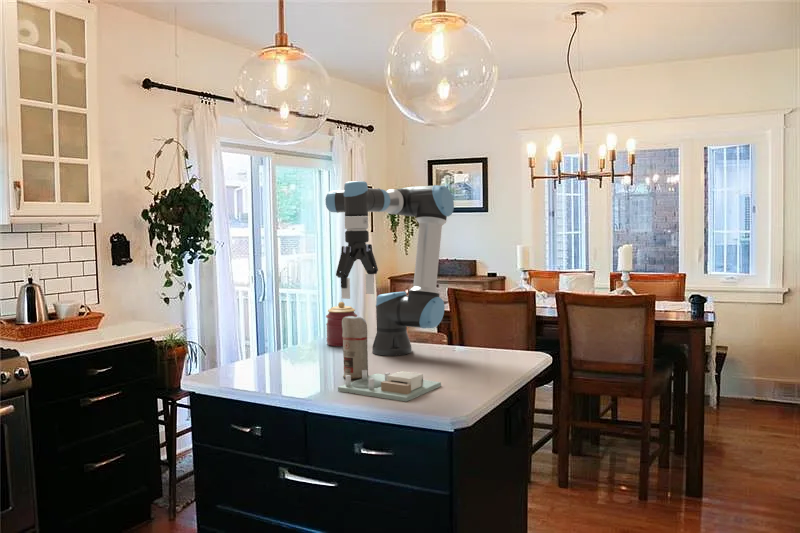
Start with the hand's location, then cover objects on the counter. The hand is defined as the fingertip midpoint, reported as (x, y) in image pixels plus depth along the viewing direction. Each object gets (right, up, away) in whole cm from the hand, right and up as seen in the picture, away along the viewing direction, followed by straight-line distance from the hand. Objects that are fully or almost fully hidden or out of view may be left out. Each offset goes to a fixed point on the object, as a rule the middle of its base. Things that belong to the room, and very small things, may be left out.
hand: (358, 296), depth 211 cm
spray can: (-1, -27, +2) cm, 27 cm away
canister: (-11, -23, +62) cm, 67 cm away
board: (+10, -27, -13) cm, 32 cm away
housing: (+15, -26, -17) cm, 34 cm away
